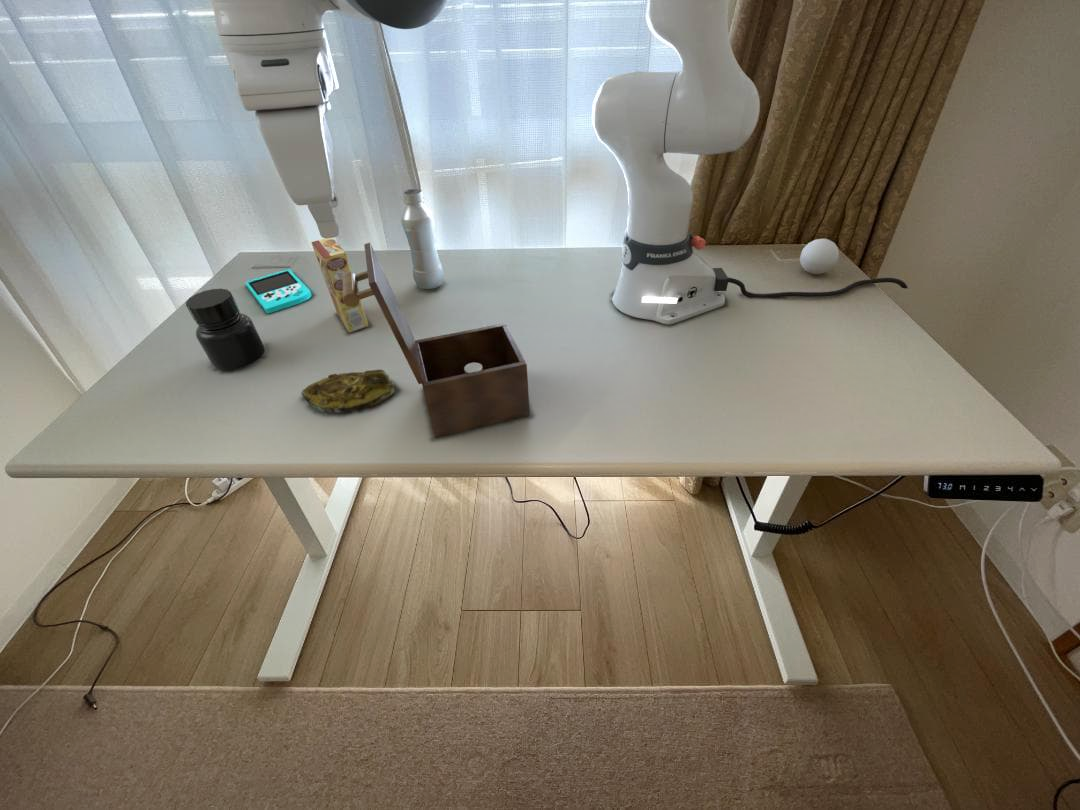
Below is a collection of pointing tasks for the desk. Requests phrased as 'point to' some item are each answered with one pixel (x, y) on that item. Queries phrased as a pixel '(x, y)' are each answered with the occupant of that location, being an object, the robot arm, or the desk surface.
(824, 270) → the white egg
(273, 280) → the handheld game console
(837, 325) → the desk surface
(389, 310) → the lid
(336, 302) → the candy box
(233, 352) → the ink bottle
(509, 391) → the chest
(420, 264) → the plastic bottle
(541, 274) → the desk surface
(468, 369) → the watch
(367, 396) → the mossy rock
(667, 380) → the desk surface
